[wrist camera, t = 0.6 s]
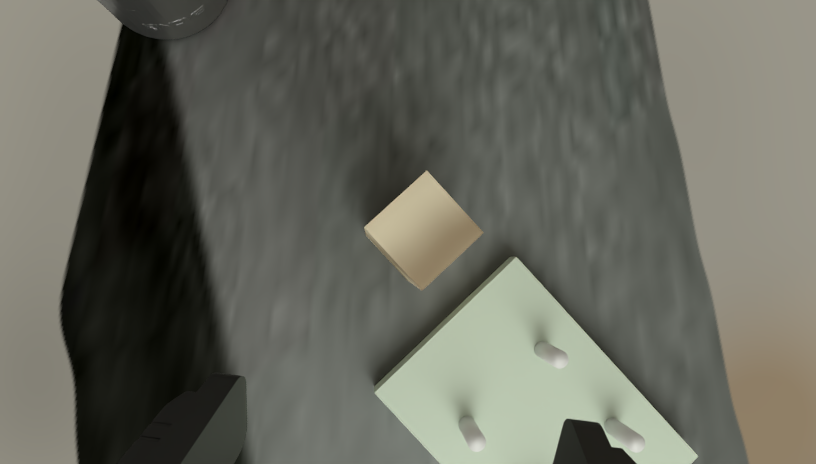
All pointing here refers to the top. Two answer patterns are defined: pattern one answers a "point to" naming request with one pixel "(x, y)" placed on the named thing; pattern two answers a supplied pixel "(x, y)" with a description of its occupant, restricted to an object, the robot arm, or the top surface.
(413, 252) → the ash block
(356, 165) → the top surface
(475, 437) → the peg board
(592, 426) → the robot arm
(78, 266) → the top surface
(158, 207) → the top surface
